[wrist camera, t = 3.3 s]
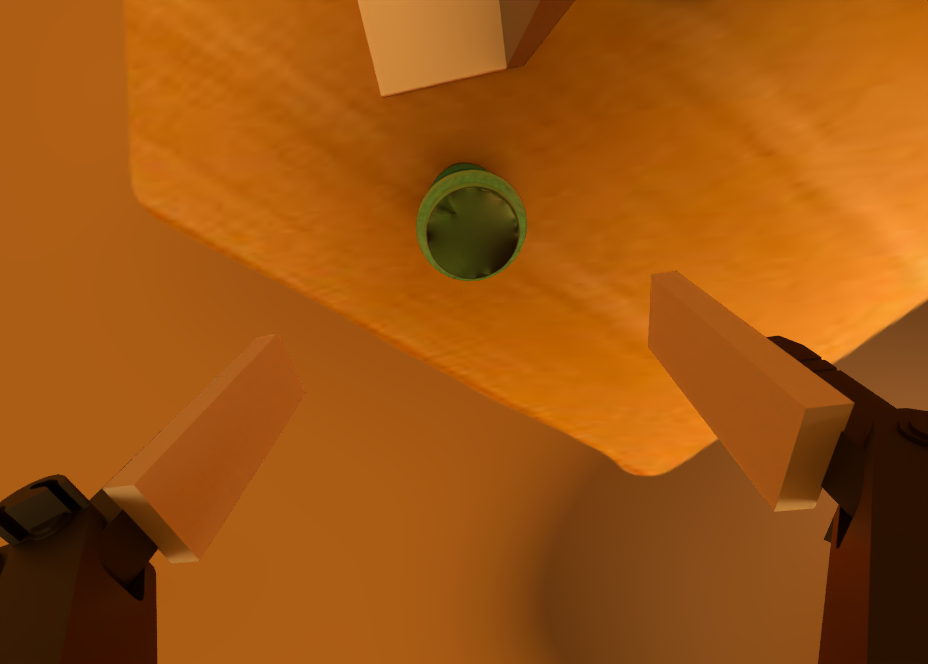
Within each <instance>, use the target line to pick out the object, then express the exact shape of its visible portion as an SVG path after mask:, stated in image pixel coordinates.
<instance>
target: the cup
mask: <svg viewBox="0 0 928 664" xmlns="http://www.w3.org/2000/svg"><path fill="white" fill-rule="evenodd" d="M526 231H527V218H526V212H525V208H524V205H523V203H522V200H521V198H520V196H519V195H518V193H517V192H516V190H515V189H514V188H513V187H512V186H511V185H510V184H509V183H508V182H507V181H506V180H504V179H503V178H501V177H499V176H497V175H495V174H493V173H490V172H489V171H487V170H486V169H484V168H482V167H480V166H478V165H475V164H470V163H458V164H454V165H452V166H450V167H448V168H447V169H445V170H444V171H443V172H442V173H441V174H440V175H439V176H438V177H437V178H436V180H435V181H434V183H433V184H432V186H431V187H430V189H429V191H428V192H427V194H426V195H425V196H424V198H423V200H422V202H421V204H420V207H419V210H418V214H417V220H416V232H417V239H418V243H419V246H420V248H421V251H422V253H423V254H424V256H425V258H426V259H427V260H428V262H429V263H430V264H431V265H432V266H433V267H434V268H435V269H437V270H438V271H439V272H441V273H442V274H444V275H446V276H448V277H451V278H454V279H458V280H463V281H477V280H483V279H486V278H489V277H492V276H494V275H496V274H498V273H500V272H501V271H503V270H504V269H505V268H507V267H508V266H509V265H510V264H511V263H512V262H513V261H514V259H515V258H516V257H517V255H518V254H519V252H520V250H521V248H522V246H523V243H524V240H525V237H526Z"/></svg>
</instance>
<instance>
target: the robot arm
mask: <svg viewBox="0 0 928 664" xmlns="http://www.w3.org/2000/svg"><path fill="white" fill-rule="evenodd" d="M648 347H649V349H650V350H651V351H652V353H653V354H654V355H655V356H656V358H657V359H658V360H659V362H660V363H661V364H662V366H663V367H664V368H665V369H666V371H667V372H668V373H669V375H670V376H671V377H672V379H673V380H674V381H675V383H676V384H677V385H678V386H679V388H680V389H681V390H682V392H683V393H684V394H685V396H686V397H687V398H688V400H689V401H690V402H691V403H692V405H693V406H694V407H695V409H696V410H697V411H698V413H699V414H700V415H701V417H702V418H703V419H704V420H705V422H706V423H707V424H708V426H709V427H710V428H711V430H712V431H713V432H714V434H715V435H716V436H717V437H718V439H719V440H720V441H721V443H722V444H723V445H724V447H725V448H726V449H727V451H728V452H729V453H730V454H731V456H732V457H733V458H734V460H735V461H736V462H737V463H738V465H739V466H740V467H741V469H742V470H743V471H744V473H745V474H746V475H747V477H748V478H749V479H750V480H751V482H752V483H753V484H754V486H755V487H756V488H757V489H758V491H759V492H760V493H761V495H762V496H763V498H764V499H765V500H766V501H767V503H768V504H769V505H770V507H771V508H772V509H773V511H775V512H776V511H786V510H799V509H811V508H815V506H816V503H817V501H818V498H819V495H820V493H821V490H822V488H824V490H825V491H826V492H827V493H828V494H829V495H830V496H831V497H832V498H833V499H834V500H835V501H836V502H837V503H838V504H839V505H838V507H837V510H836V512H835V514H834V517H833V519H832V522H831V524H830V526H829V529H828V531H827V533H826V536H825V538H824V540H826V541H828V542H831V548H830V557H829V568H828V576H827V585H826V594H825V604H824V614H823V623H822V632H821V641H820V650H819V660H818V664H928V411H922V410H916V409H909V408H903V409H902V408H901V409H896V408H895V407H894V406H892V405H890V404H889V403H888V402H886V401H885V400H883V399H882V398H880V397H879V396H877V395H876V394H874V393H873V392H871V391H870V390H869V389H867V388H866V387H864V386H863V385H861V384H860V383H858V382H857V381H855V380H854V379H852V378H851V377H849V376H848V375H847V374H845V373H843V372H842V371H837V368H836V367H835V366H833V365H832V364H830V363H829V362H827V361H826V360H822V359H821V357H820V356H819V355H817V354H816V353H814V352H813V351H811V350H810V349H808V348H807V347H805V346H804V345H802V344H799V343H797V342H794V341H791V340H789V339H786V338H784V337H781V336H772V337H765V336H764V335H762V334H761V333H759V332H758V331H757V330H755V329H754V328H753V327H751V326H750V325H749V324H747V323H746V322H745V321H743V320H742V319H741V318H739V317H738V316H736V315H735V314H734V313H732V312H731V311H730V310H728V309H727V308H726V307H724V306H723V305H722V304H720V303H719V302H718V301H716V300H715V299H714V298H712V297H711V296H709V295H708V294H707V293H705V292H704V291H703V290H701V289H700V288H699V287H697V286H696V285H695V284H693V283H692V282H691V281H689V280H688V279H687V278H685V277H684V276H682V275H681V274H680V273H678V272H677V271H672V272H665V273H659V274H653V275H651V294H650V314H649V334H648ZM305 394H306V392H305V390H304V388H303V386H302V384H301V382H300V380H299V378H298V375H297V373H296V371H295V369H294V367H293V365H292V363H291V361H290V359H289V356H288V354H287V352H286V350H285V348H284V346H283V344H282V342H281V340H280V338H279V335H278V334H272V335H265V336H259V337H257V338H256V339H255V340H254V341H253V342H252V343H251V344H250V345H249V346H248V347H247V348H246V349H245V350H244V351H243V352H242V353H241V354H240V355H239V356H238V357H237V358H236V359H235V360H234V361H233V362H232V363H231V364H230V365H229V366H227V367H226V369H224V370H223V371H222V372H221V373H220V374H219V375H218V376H217V377H216V378H215V379H214V380H213V381H212V382H211V383H210V384H209V385H208V386H207V387H206V388H205V389H204V390H203V391H202V392H201V393H200V394H199V395H198V396H197V397H196V398H195V399H194V400H193V401H192V402H191V403H190V404H188V405H187V406H186V407H185V408H184V409H183V410H182V411H181V412H180V413H179V414H178V415H177V416H176V417H175V418H174V419H173V420H172V421H171V422H170V423H169V424H168V425H167V426H166V427H165V428H164V429H163V430H161V431H160V432H159V433H158V434H157V435H156V436H155V437H154V438H153V439H152V440H151V441H150V442H149V443H148V444H147V445H146V446H145V447H144V448H143V449H142V450H141V451H140V452H139V453H138V454H137V455H136V456H135V457H134V458H133V459H131V460H130V462H129V463H127V464H126V465H125V466H124V467H123V468H122V469H121V470H120V471H119V472H118V473H117V474H116V475H115V476H114V477H113V478H112V479H111V480H110V481H109V482H108V483H107V484H106V485H105V486H104V487H103V488H102V489H101V490H100V491H99V492H98V493H96V495H94V497H92V498H91V500H88V499H87V498H86V497H85V496H84V495H83V494H82V493H81V492H80V491H79V490H78V489H77V488H76V487H75V486H74V485H73V484H72V483H71V482H70V481H69V480H68V479H67V478H66V477H65V476H63V475H59V474H58V475H53V476H48V477H45V478H43V479H40V480H38V481H35V482H33V483H31V484H29V485H27V486H25V487H23V488H21V489H19V490H17V491H16V492H14V493H13V494H11V495H10V496H9V497H7V498H6V499H4V500H2V501H1V502H0V537H2V538H3V539H4V540H5V541H7V542H8V543H9V544H8V545H5V546H2V547H0V664H157V609H156V572H155V569H154V567H153V566H152V565H151V563H150V562H149V560H150V559H151V557H152V556H153V555H154V553H155V552H156V551H157V549H159V550H160V551H161V552H162V554H163V555H164V556H165V557H166V558H167V559H168V560H169V561H170V562H171V563H182V562H193V561H200V560H201V558H202V556H203V555H204V553H205V551H206V550H207V548H208V547H209V545H210V544H211V542H212V541H213V539H214V537H215V536H216V534H217V533H218V531H219V530H220V528H221V526H222V525H223V523H224V522H225V520H226V518H227V517H228V515H229V514H230V512H231V511H232V509H233V507H234V506H235V504H236V503H237V501H238V500H239V498H240V496H241V495H242V493H243V492H244V490H245V489H246V487H247V485H248V484H249V482H250V481H251V479H252V477H253V476H254V474H255V473H256V471H257V469H258V468H259V467H260V465H261V463H262V462H263V460H264V459H265V457H266V456H267V454H268V452H269V451H270V449H271V447H272V446H273V445H274V443H275V441H276V440H277V438H278V437H279V435H280V433H281V432H282V430H283V429H284V427H285V426H286V424H287V422H288V421H289V419H290V417H291V416H292V415H293V413H294V411H295V410H296V408H297V407H298V405H299V403H300V402H301V400H302V399H303V397H304V396H305Z"/></svg>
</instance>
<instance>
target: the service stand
mask: <svg viewBox="0 0 928 664" xmlns="http://www.w3.org/2000/svg"><path fill="white" fill-rule="evenodd" d="M357 1H358V5H359V9H360V13H361V17H362V21H363V25H364V29H365V33H366V37H367V41H368V45H369V49H370V53H371V57H372V61H373V65H374V69H375V73H376V77H377V81H378V85H379V89H380V93H381V96H382V97H387V96H392V95H396V94H401V93H405V92H409V91H414V90H418V89H422V88H427V87H431V86H436V85H440V84H444V83H449V82H453V81H457V80H462V79H466V78H471V77H475V76H479V75H484V74H488V73H493V72H497V71H501V70H506V69H510V68H514V67H519V66H523V65H524V64H525V63H526V62H527V61H528V59H529V58H530V57H531V56H532V54H533V53H534V52H535V50H536V49H537V48H538V47H539V45H540V44H541V43H542V42H543V40H544V39H545V38H546V36H547V35H548V34H549V33H550V31H551V30H552V29H553V28H554V26H555V25H556V24H557V22H558V21H559V20H560V19H561V17H562V16H563V15H564V14H565V12H566V11H567V10H568V8H569V7H570V6H571V5H572V3H573V2H574V1H575V0H357Z"/></svg>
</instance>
